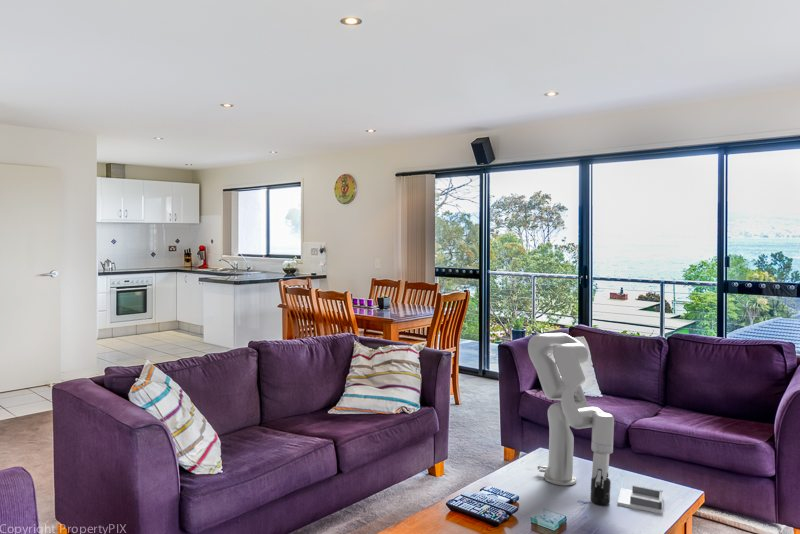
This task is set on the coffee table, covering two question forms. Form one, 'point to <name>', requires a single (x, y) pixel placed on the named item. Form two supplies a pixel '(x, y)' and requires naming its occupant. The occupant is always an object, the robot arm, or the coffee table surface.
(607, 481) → the supplement bottle
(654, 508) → the cradle tray
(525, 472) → the coffee table surface
